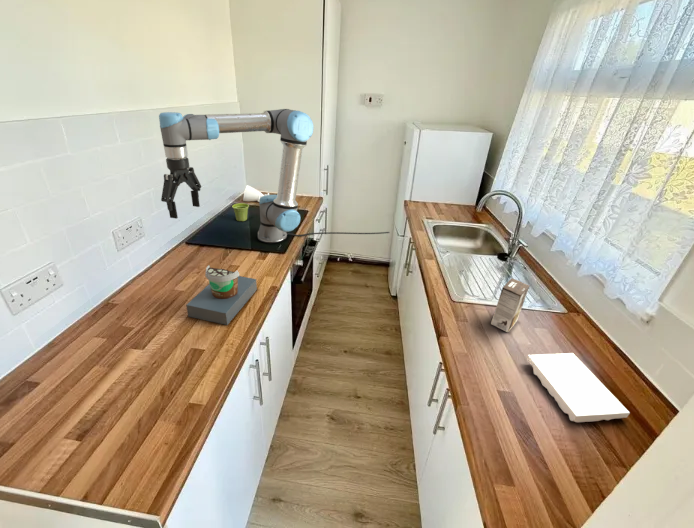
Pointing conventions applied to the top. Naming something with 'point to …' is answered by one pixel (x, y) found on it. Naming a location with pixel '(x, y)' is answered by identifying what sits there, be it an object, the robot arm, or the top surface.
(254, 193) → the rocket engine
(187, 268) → the top surface
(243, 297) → the grey rectangular block
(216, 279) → the food container
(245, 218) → the plant pot
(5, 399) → the top surface
